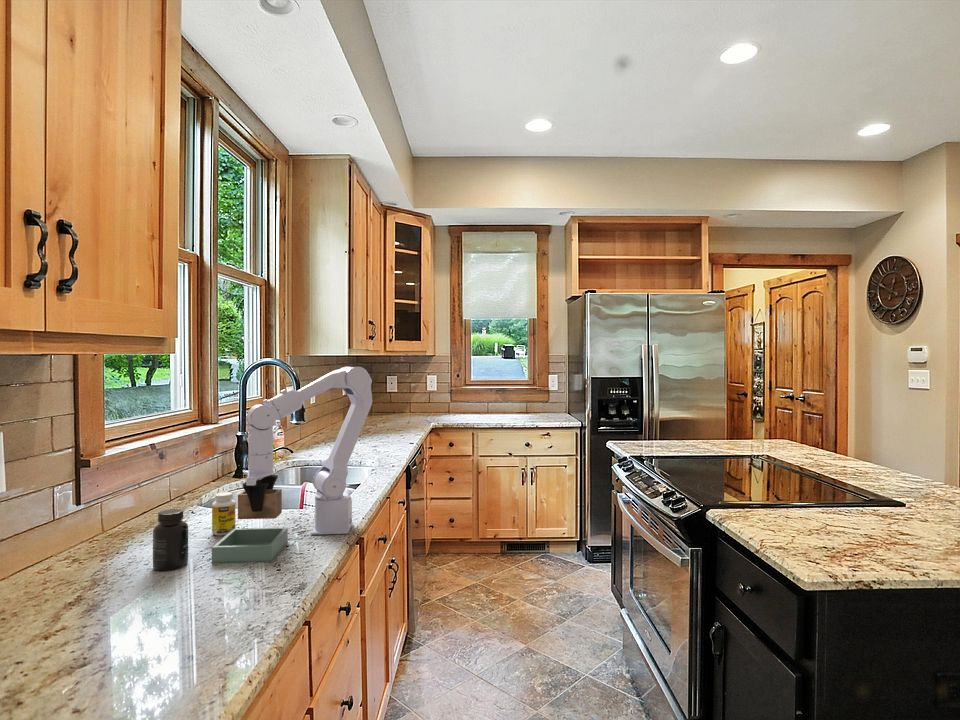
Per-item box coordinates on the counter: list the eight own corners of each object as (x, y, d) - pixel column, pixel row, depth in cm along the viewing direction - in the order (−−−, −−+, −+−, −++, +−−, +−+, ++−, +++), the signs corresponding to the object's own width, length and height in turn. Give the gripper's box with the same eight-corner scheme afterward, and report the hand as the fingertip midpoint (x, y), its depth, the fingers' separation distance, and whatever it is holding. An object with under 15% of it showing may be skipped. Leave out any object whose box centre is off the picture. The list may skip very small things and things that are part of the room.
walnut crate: (281, 512, 137) (281, 489, 137) (275, 518, 132) (275, 494, 132) (245, 513, 136) (245, 489, 136) (237, 519, 131) (237, 494, 131)
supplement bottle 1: (193, 565, 119) (193, 511, 119) (158, 574, 114) (158, 518, 114) (182, 557, 124) (181, 505, 124) (148, 566, 119) (148, 511, 119)
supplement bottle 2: (216, 538, 137) (216, 497, 137) (209, 532, 141) (208, 493, 141) (238, 533, 141) (238, 493, 141) (231, 528, 145) (231, 490, 145)
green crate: (287, 543, 134) (287, 527, 134) (271, 563, 121) (271, 545, 121) (233, 544, 133) (233, 528, 133) (211, 565, 120) (211, 547, 120)
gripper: (254, 448, 141) (254, 500, 141) (232, 458, 127) (232, 516, 127) (282, 448, 141) (282, 500, 142) (263, 458, 127) (263, 516, 127)
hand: (260, 508), depth 134 cm, fingers closed on walnut crate, 5 cm apart
